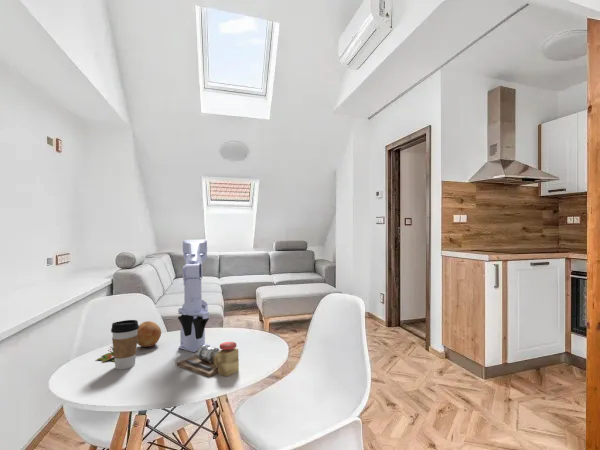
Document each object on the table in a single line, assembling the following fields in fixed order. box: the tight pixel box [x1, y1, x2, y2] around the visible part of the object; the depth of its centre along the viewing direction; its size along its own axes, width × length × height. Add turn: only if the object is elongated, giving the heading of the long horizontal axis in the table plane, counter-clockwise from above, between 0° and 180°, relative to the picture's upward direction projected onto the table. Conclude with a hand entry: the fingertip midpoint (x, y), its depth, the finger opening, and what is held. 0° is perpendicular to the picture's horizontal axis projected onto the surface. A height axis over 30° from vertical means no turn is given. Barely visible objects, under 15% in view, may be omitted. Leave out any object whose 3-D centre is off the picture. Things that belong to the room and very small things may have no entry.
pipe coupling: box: [196, 345, 221, 364], centre depth 108 cm, size 6×5×5 cm
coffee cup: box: [110, 319, 140, 370], centre depth 108 cm, size 8×8×15 cm
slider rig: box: [175, 341, 240, 378], centre depth 106 cm, size 22×11×9 cm, turn 55°
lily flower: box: [96, 346, 115, 363], centre depth 117 cm, size 12×12×5 cm
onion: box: [137, 320, 162, 348], centre depth 128 cm, size 10×10×10 cm
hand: (193, 336), depth 111 cm, fingers open, 6 cm apart
